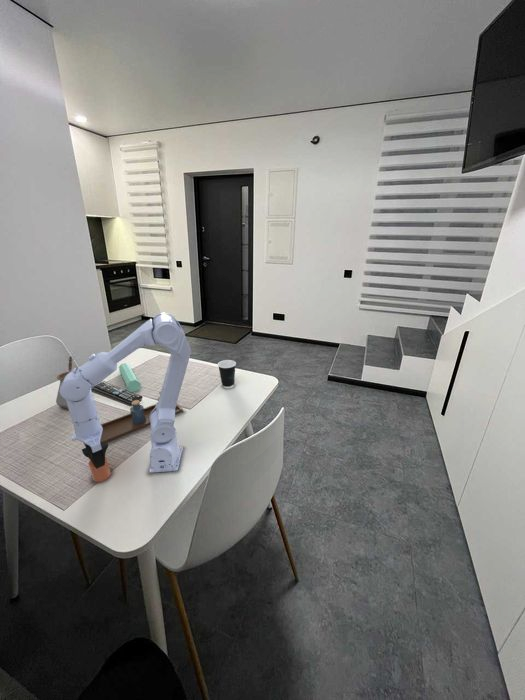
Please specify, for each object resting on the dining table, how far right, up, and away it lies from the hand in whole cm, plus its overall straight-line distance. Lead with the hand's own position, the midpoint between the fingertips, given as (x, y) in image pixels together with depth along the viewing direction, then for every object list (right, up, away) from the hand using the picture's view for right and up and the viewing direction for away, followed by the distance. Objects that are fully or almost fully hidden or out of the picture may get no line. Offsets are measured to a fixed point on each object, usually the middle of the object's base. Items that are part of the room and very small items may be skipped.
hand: (96, 458), depth 78 cm
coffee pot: (-32, +9, +41) cm, 53 cm away
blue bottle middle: (+1, +4, +25) cm, 26 cm away
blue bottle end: (+8, +6, +31) cm, 33 cm away
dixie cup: (+30, +13, +50) cm, 60 cm away
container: (-17, +15, +55) cm, 59 cm away
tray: (+1, +3, +26) cm, 26 cm away
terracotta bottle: (0, -6, +2) cm, 6 cm away
